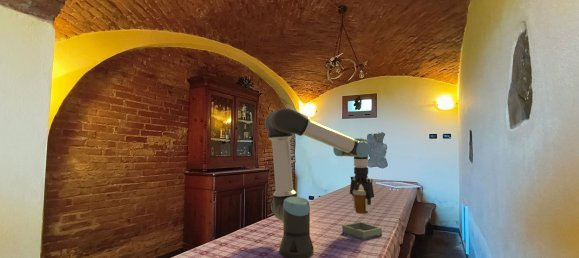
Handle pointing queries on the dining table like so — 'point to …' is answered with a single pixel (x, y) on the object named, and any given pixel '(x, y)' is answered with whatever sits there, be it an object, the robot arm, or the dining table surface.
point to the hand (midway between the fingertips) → (361, 209)
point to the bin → (362, 230)
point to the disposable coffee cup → (360, 201)
